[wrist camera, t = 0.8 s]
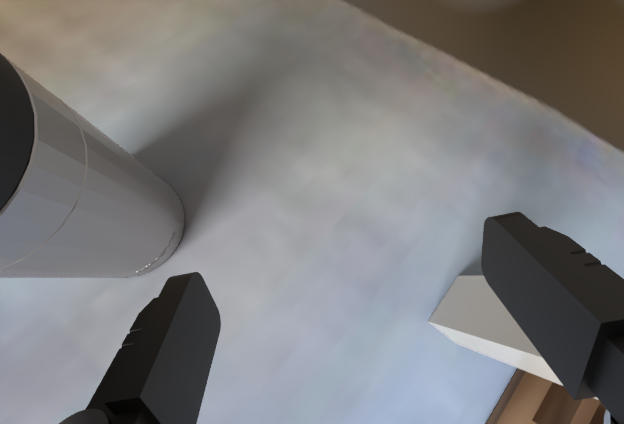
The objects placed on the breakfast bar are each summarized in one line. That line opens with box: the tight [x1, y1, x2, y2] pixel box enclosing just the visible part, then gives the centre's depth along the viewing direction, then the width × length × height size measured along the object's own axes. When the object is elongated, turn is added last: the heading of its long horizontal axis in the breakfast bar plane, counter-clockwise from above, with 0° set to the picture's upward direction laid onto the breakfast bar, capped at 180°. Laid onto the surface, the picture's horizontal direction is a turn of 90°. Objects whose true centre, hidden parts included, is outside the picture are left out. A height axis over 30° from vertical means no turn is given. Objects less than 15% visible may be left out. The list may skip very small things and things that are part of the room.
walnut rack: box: [486, 368, 606, 424], centre depth 26 cm, size 12×16×4 cm
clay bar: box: [428, 275, 599, 400], centre depth 22 cm, size 3×5×14 cm, turn 142°
